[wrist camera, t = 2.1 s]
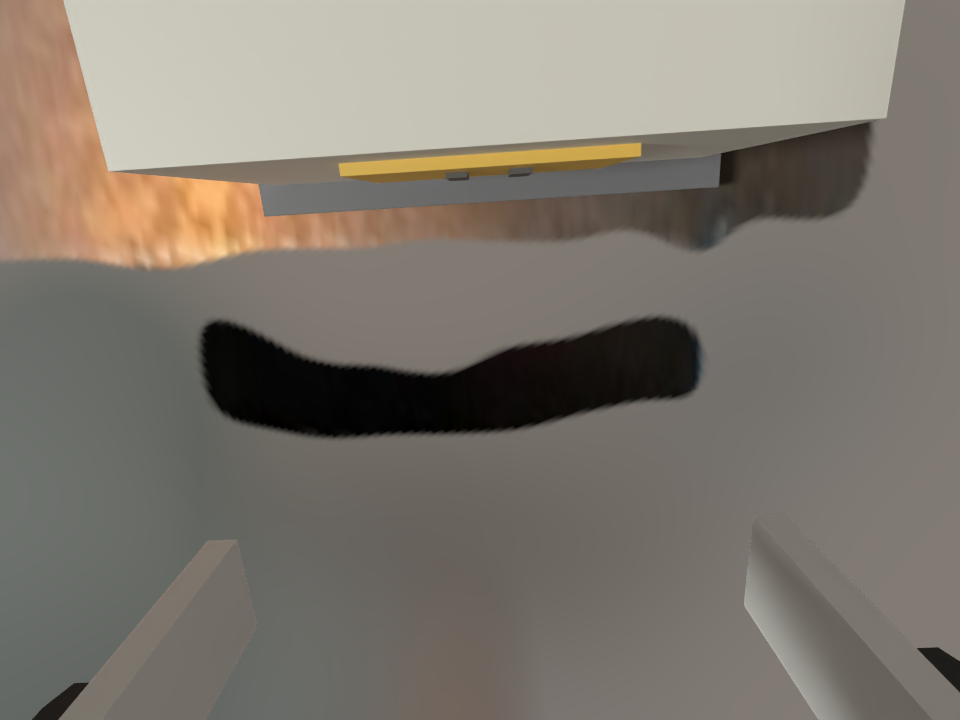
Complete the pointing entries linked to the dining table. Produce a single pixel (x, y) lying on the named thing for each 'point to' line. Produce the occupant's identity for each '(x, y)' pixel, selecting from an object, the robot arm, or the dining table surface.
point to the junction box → (470, 92)
